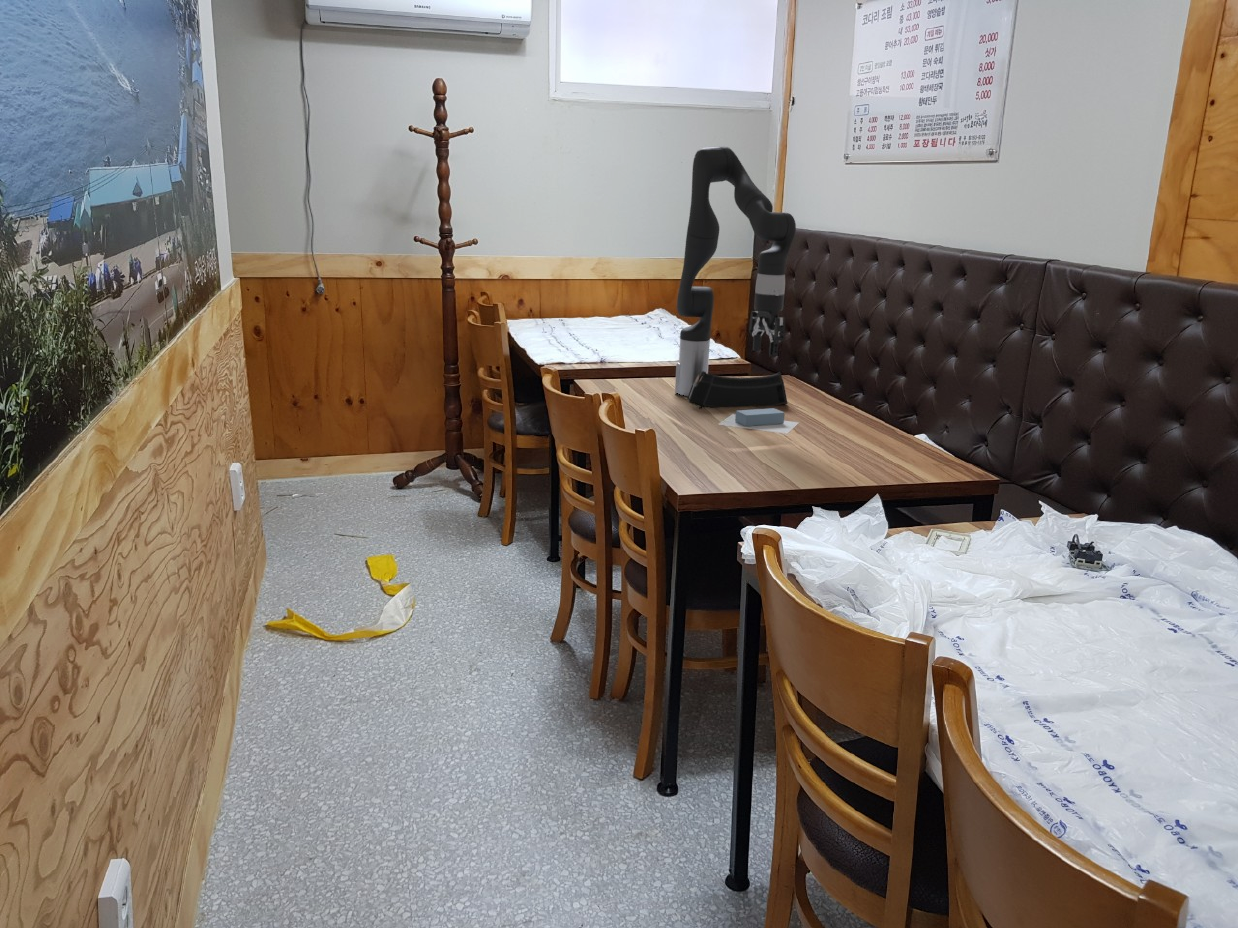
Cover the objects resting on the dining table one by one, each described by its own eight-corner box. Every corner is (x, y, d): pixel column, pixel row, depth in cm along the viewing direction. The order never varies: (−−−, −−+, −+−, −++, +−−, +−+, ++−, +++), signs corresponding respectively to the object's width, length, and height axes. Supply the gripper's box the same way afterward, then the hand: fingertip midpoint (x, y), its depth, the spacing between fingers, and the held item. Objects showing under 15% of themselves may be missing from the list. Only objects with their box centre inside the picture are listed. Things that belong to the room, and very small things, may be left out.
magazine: (793, 376, 265) (704, 348, 255) (797, 378, 262) (707, 350, 252) (773, 429, 268) (684, 404, 259) (777, 432, 265) (688, 406, 256)
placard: (783, 424, 241) (745, 426, 237) (772, 419, 246) (735, 422, 241) (784, 412, 240) (746, 415, 236) (773, 408, 245) (735, 410, 240)
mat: (717, 427, 238) (717, 424, 238) (732, 416, 251) (732, 413, 250) (786, 436, 231) (787, 433, 231) (798, 425, 244) (799, 422, 243)
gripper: (743, 289, 236) (739, 349, 240) (771, 295, 223) (766, 359, 228) (768, 288, 238) (763, 348, 243) (797, 295, 226) (791, 358, 230)
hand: (764, 353), depth 235 cm, fingers open, 8 cm apart
